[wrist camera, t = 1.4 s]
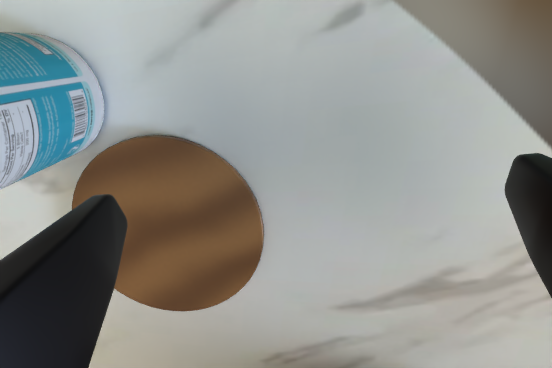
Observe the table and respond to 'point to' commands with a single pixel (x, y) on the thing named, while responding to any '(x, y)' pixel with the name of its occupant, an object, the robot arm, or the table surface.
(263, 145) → the table surface
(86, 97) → the pill bottle
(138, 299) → the disc
